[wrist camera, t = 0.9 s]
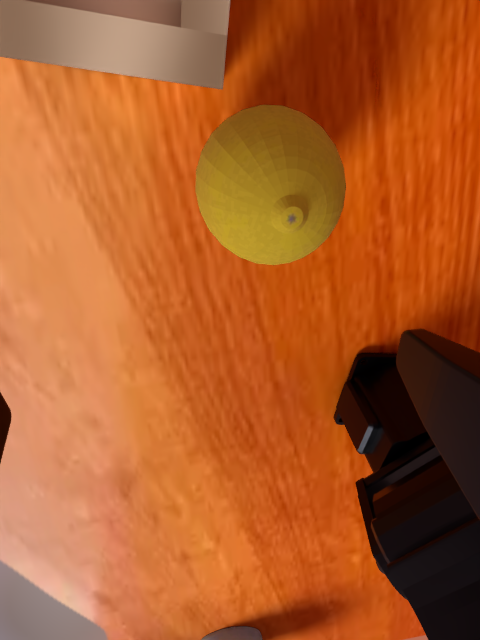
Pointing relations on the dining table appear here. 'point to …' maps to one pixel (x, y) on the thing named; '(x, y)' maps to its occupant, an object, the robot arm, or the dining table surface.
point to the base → (121, 36)
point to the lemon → (270, 184)
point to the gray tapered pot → (235, 634)
